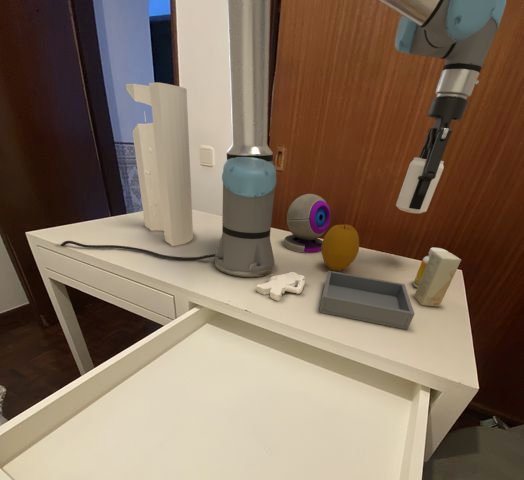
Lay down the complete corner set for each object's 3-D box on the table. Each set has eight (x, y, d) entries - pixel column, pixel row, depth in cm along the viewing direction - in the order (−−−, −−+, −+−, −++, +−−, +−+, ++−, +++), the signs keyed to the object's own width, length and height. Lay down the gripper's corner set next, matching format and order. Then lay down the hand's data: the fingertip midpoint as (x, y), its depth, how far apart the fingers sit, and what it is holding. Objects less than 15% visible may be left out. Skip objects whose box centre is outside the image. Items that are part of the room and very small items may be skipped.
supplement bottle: (425, 282, 81) (441, 246, 75) (439, 291, 77) (456, 254, 71) (408, 282, 80) (423, 246, 74) (421, 291, 75) (437, 253, 70)
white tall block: (169, 246, 85) (142, 226, 98) (205, 241, 91) (175, 223, 104) (154, 81, 64) (122, 83, 77) (202, 89, 70) (165, 90, 83)
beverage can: (421, 215, 78) (442, 161, 71) (391, 208, 82) (408, 156, 75) (428, 212, 84) (448, 161, 77) (399, 205, 87) (416, 157, 80)
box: (439, 307, 69) (462, 260, 62) (420, 305, 69) (442, 258, 62) (430, 297, 73) (451, 251, 67) (412, 295, 73) (432, 249, 67)
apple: (325, 259, 88) (335, 216, 81) (357, 268, 85) (370, 224, 78) (311, 268, 81) (320, 222, 74) (345, 278, 78) (358, 231, 71)
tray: (319, 312, 62) (322, 296, 60) (324, 284, 74) (328, 270, 71) (407, 329, 60) (414, 313, 57) (399, 298, 71) (404, 284, 69)
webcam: (303, 255, 89) (312, 200, 80) (274, 242, 97) (280, 190, 88) (331, 249, 96) (343, 197, 87) (303, 237, 104) (311, 189, 95)
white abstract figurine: (313, 285, 71) (314, 277, 70) (282, 306, 64) (283, 297, 63) (283, 273, 75) (284, 265, 74) (251, 291, 68) (251, 283, 67)
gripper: (484, 94, 60) (434, 215, 73) (456, 103, 77) (419, 201, 90) (445, 90, 61) (402, 210, 74) (425, 100, 78) (393, 197, 91)
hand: (411, 205), depth 82 cm, fingers closed on beverage can, 8 cm apart
